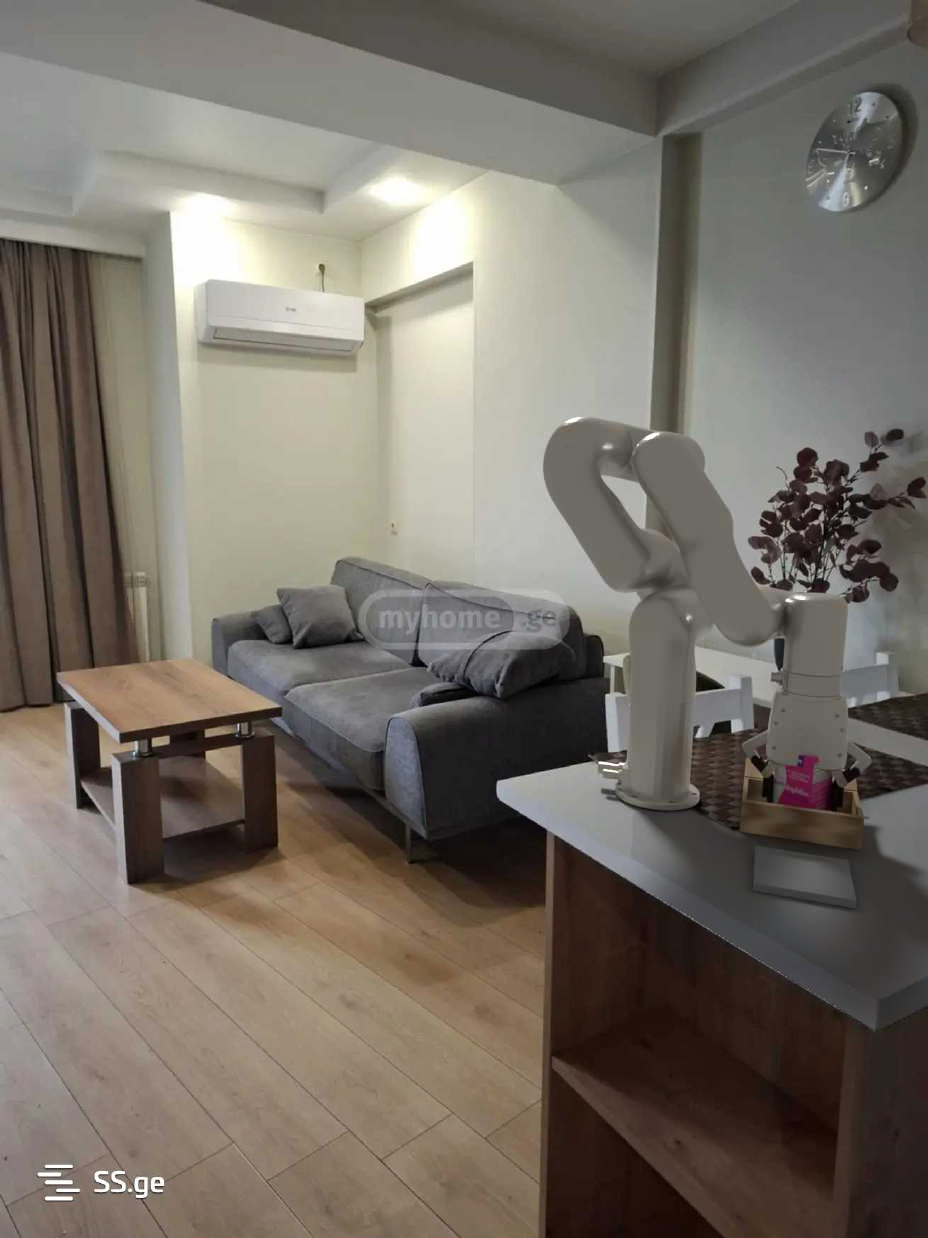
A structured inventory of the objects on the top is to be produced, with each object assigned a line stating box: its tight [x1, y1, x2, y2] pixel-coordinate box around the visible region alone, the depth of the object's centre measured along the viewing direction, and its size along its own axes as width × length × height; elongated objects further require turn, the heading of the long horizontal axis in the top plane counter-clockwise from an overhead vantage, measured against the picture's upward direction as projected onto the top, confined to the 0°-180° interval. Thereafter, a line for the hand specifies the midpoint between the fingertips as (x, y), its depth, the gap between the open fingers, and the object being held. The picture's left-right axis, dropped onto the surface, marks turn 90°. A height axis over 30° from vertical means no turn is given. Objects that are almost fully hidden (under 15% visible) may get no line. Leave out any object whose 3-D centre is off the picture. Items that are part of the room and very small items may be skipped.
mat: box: [752, 845, 857, 910], centre depth 101 cm, size 11×11×1 cm
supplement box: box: [772, 755, 833, 811], centre depth 116 cm, size 6×6×12 cm
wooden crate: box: [739, 757, 870, 851], centre depth 116 cm, size 15×19×6 cm
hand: (800, 806), depth 116 cm, fingers closed on supplement box, 7 cm apart
